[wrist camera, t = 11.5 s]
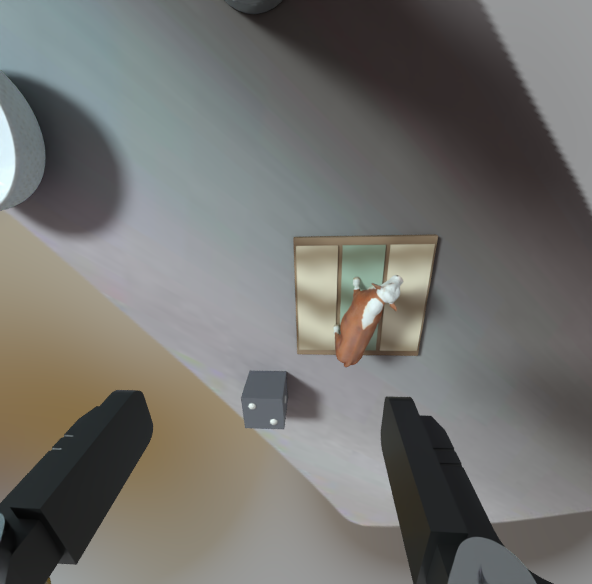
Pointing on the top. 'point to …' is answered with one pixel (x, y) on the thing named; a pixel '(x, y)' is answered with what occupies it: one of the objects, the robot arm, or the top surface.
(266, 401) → the die
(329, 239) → the paneled room divider
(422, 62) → the top surface
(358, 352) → the bull figurine
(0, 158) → the cereal bowl
